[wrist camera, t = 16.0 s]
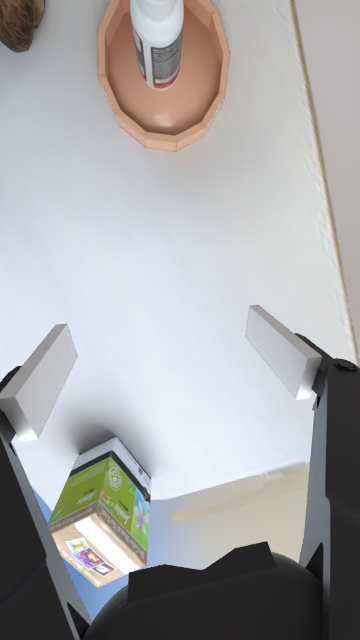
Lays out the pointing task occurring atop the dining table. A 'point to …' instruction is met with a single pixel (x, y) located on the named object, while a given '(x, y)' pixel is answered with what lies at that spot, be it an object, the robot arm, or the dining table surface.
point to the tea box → (103, 514)
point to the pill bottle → (158, 40)
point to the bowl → (184, 96)
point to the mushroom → (19, 22)
